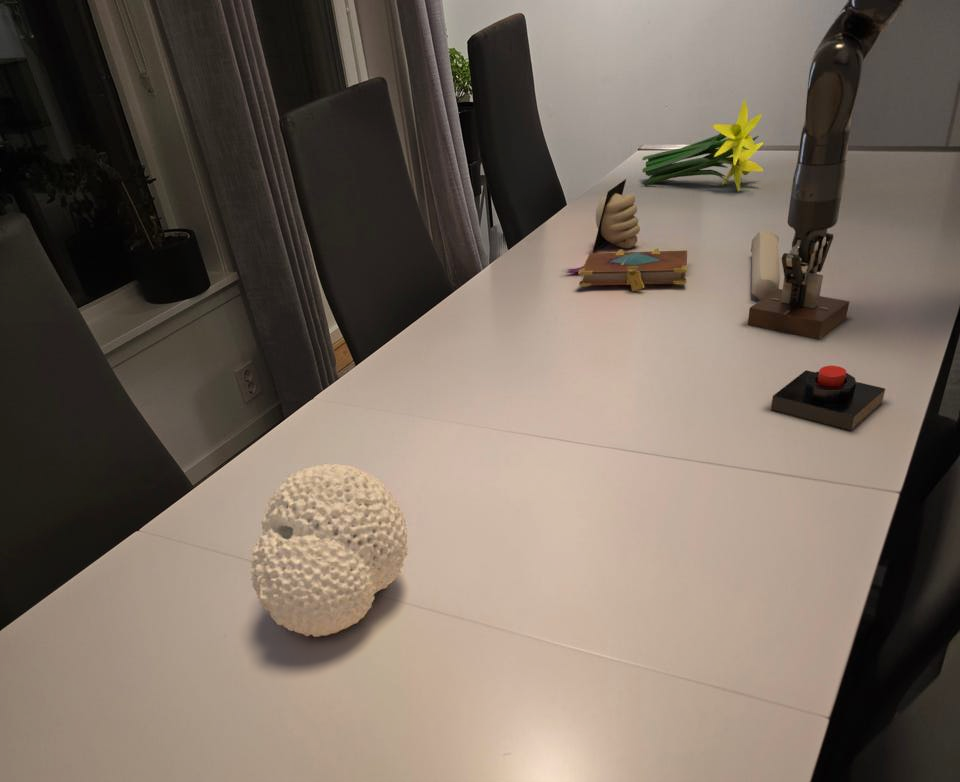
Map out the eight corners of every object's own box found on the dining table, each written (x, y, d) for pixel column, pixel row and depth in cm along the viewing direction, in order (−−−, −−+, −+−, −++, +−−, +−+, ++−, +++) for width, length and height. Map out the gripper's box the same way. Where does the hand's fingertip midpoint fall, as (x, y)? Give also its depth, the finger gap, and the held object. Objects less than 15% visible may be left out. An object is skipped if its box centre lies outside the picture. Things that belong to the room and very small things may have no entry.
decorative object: (640, 250, 186) (623, 265, 180) (599, 234, 188) (580, 248, 182) (658, 190, 176) (640, 204, 170) (614, 174, 179) (595, 187, 172)
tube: (786, 280, 148) (783, 234, 166) (758, 271, 148) (758, 226, 166) (772, 309, 152) (771, 261, 169) (744, 300, 152) (746, 253, 169)
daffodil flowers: (670, 175, 226) (794, 143, 201) (651, 219, 223) (774, 191, 199) (641, 123, 214) (769, 82, 190) (620, 169, 211) (748, 133, 187)
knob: (818, 305, 141) (823, 273, 137) (813, 308, 140) (819, 276, 136) (785, 299, 144) (789, 267, 140) (780, 302, 143) (785, 270, 140)
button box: (882, 402, 120) (888, 376, 117) (850, 431, 115) (856, 404, 112) (803, 383, 127) (807, 358, 124) (770, 409, 122) (774, 383, 119)
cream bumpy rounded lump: (285, 481, 102) (295, 414, 87) (418, 533, 106) (450, 478, 90) (224, 627, 96) (223, 583, 81) (368, 678, 99) (393, 645, 84)
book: (568, 271, 177) (568, 245, 174) (688, 267, 171) (690, 241, 168) (556, 294, 164) (556, 268, 161) (685, 292, 159) (687, 264, 156)
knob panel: (846, 318, 143) (850, 300, 141) (818, 339, 138) (821, 320, 136) (776, 305, 150) (778, 287, 148) (747, 324, 145) (749, 306, 143)
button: (848, 380, 118) (851, 368, 117) (836, 390, 116) (839, 378, 115) (824, 375, 120) (826, 363, 119) (812, 384, 118) (814, 372, 117)
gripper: (818, 206, 125) (800, 322, 136) (859, 183, 132) (839, 294, 143) (772, 201, 129) (758, 313, 140) (814, 178, 136) (798, 287, 147)
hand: (799, 303), depth 142 cm, fingers closed
